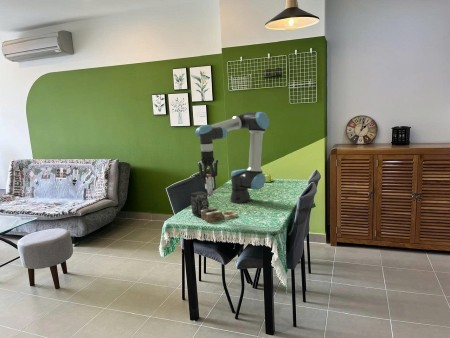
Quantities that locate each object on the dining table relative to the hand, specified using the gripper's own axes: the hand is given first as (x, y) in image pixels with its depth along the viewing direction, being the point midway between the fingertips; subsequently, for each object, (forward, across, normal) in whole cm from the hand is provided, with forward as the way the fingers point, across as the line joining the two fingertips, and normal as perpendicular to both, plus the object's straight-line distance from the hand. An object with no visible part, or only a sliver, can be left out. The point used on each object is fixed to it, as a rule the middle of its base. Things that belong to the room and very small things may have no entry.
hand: (209, 188), depth 210 cm
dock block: (+20, 0, 0) cm, 20 cm away
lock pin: (+5, 0, 0) cm, 5 cm away
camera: (+20, +2, -12) cm, 24 cm away
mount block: (+20, -11, +2) cm, 23 cm away
